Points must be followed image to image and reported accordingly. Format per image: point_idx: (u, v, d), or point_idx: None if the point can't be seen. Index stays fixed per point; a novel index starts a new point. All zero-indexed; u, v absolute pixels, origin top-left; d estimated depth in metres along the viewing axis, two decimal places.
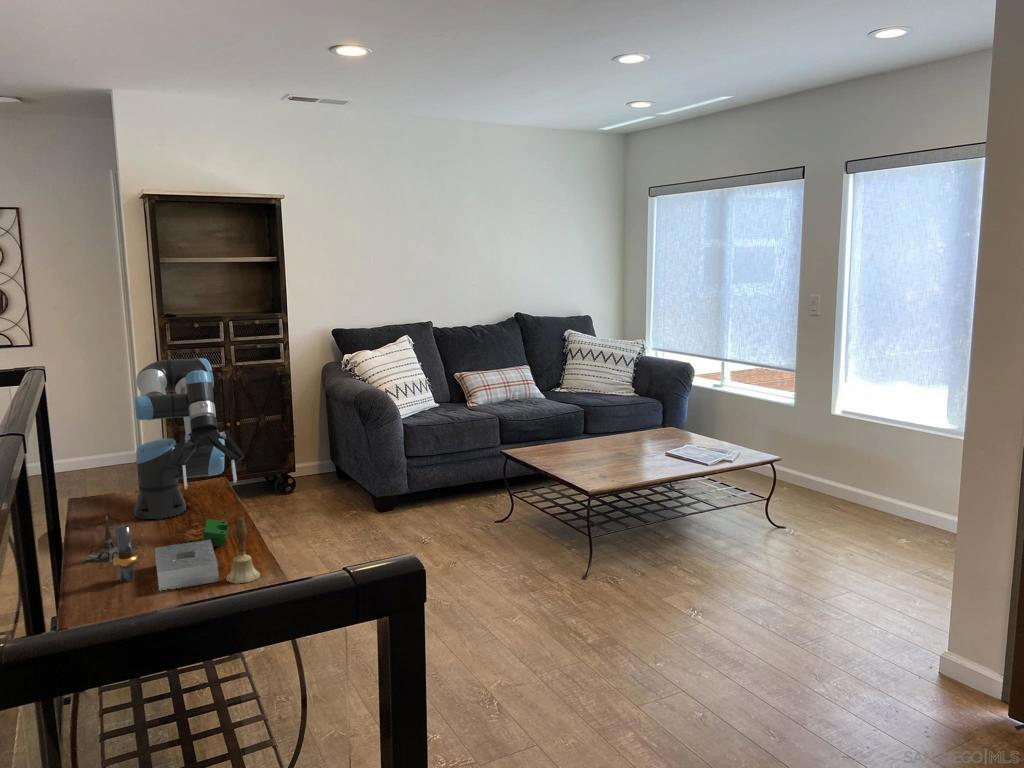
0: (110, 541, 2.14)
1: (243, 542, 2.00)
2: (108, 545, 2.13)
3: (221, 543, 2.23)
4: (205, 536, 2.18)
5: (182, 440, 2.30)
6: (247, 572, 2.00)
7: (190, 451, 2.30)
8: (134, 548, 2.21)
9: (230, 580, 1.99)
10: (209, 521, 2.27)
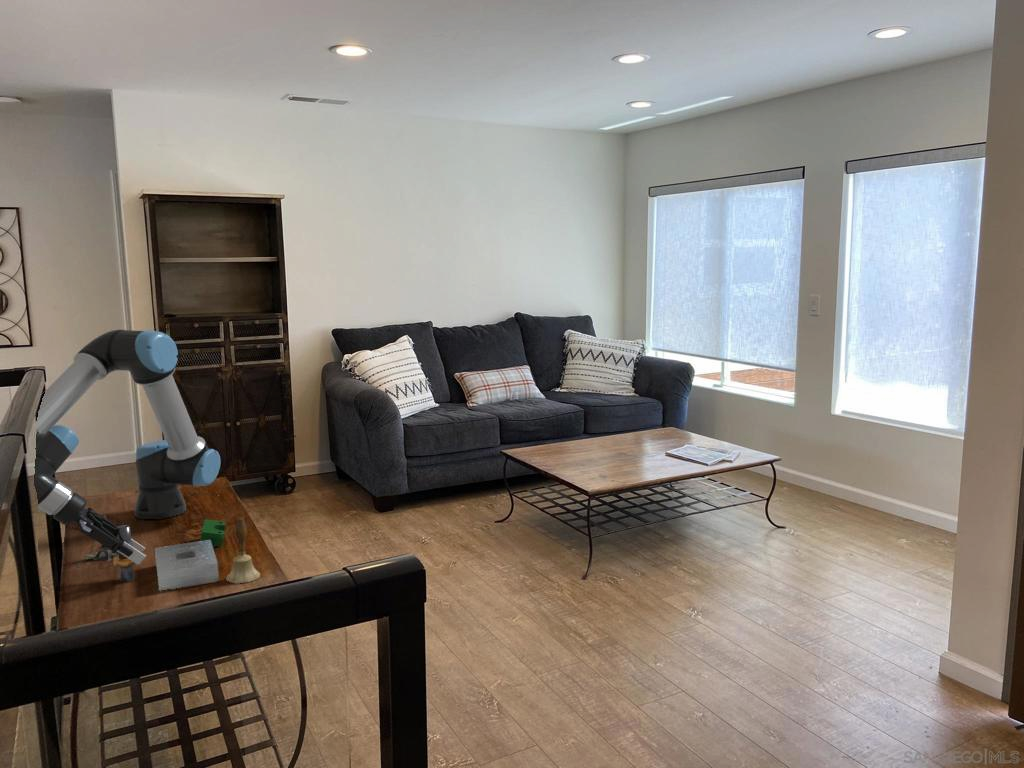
0: None
1: (243, 542, 2.00)
2: None
3: (218, 543, 2.23)
4: (203, 536, 2.18)
5: None
6: (247, 572, 2.00)
7: None
8: None
9: (230, 580, 1.99)
10: (207, 521, 2.27)
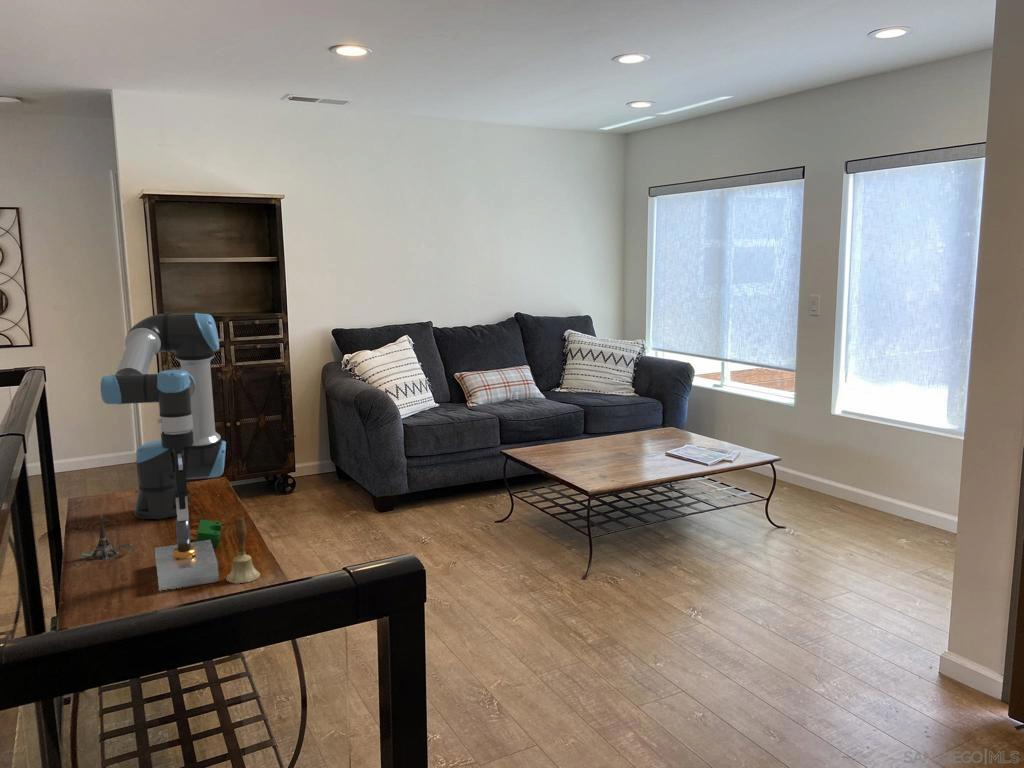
0: (105, 539, 2.15)
1: (243, 542, 2.00)
2: (103, 543, 2.14)
3: (214, 544, 2.22)
4: (199, 537, 2.18)
5: None
6: (247, 572, 2.00)
7: (174, 475, 2.00)
8: (127, 546, 2.23)
9: (230, 580, 1.99)
10: (203, 522, 2.27)
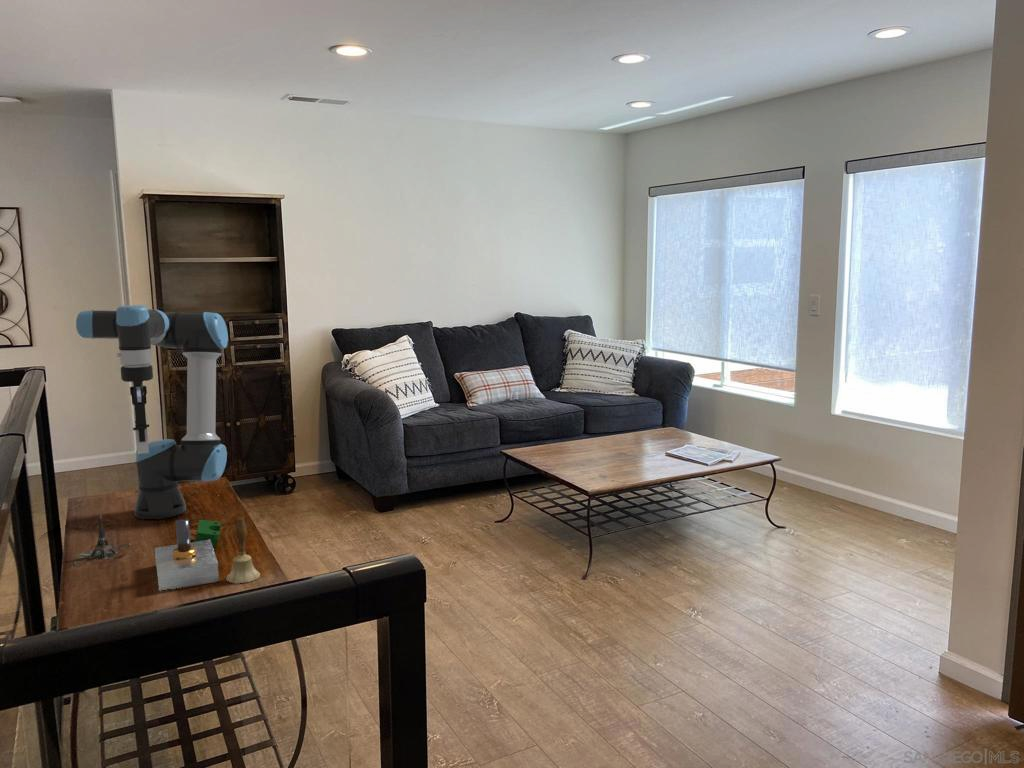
0: (104, 539, 2.15)
1: (243, 542, 2.00)
2: (102, 543, 2.15)
3: (213, 544, 2.22)
4: (197, 537, 2.18)
5: None
6: (247, 572, 2.00)
7: None
8: (126, 545, 2.23)
9: (230, 580, 1.99)
10: (202, 522, 2.26)
